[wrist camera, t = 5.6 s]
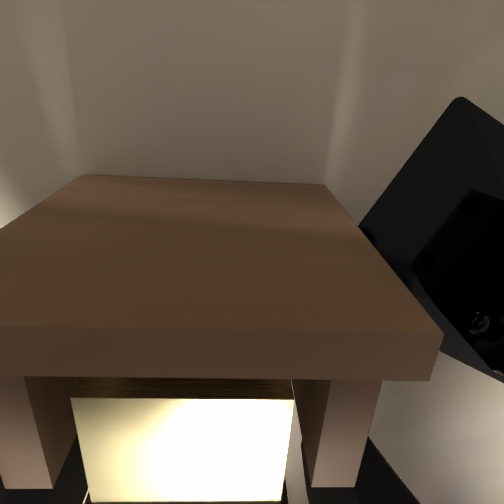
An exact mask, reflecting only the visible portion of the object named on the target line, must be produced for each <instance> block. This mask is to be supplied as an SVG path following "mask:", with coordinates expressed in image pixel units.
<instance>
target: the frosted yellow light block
mask: <svg viewBox="0 0 504 504" xmlns="http://www.w3.org/2000/svg"><path fill="white" fill-rule="evenodd" d="M71 403H72V408H73V413H74V418H75V423H76V428H77V434H78V439H79V444H80V449H81V454H82V459H83V464H84V469H85V474H86V479H87V484H88V489H89V493H88V495H87V498H86V501H85V504H288V498H287V490H286V482H285V474H284V472H285V465H286V458H287V451H288V443H289V436H290V429H291V421H292V414H293V407H294V395H293V389H292V384H291V379H226V378H141V377H81V378H80V380H79V382H78V384H77V386H76V388H75V390H74V392H73V394H72V396H71Z"/></svg>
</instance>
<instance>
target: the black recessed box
mask: <svg viewBox="0 0 504 504" xmlns="http://www.w3.org/2000/svg"><path fill="white" fill-rule="evenodd" d="M358 227H359V229H360V230H361V231H362V232H363V234H364V235H365V236H366V237H367V239H368V240H369V241H370V242H371V244H372V245H373V246H374V247H375V249H376V250H377V251H378V252H379V254H380V255H381V256H382V257H383V259H384V260H385V261H386V262H387V263H388V265H389V266H390V267H391V268H392V270H393V271H394V272H395V273H396V275H397V276H398V277H399V278H400V280H401V281H402V282H403V283H404V285H405V286H406V287H407V288H408V290H409V291H410V292H411V293H412V295H413V296H414V297H415V298H416V300H417V301H418V302H419V303H420V305H421V306H422V307H423V308H424V310H425V311H426V312H427V313H428V315H429V316H430V317H431V318H432V319H433V321H434V322H435V323H436V324H437V326H438V327H439V328H440V329H441V331H442V332H443V333H444V336H443V339H442V342H441V346H440V349H439V351H441V352H443V353H445V354H447V355H449V356H451V357H453V358H455V359H457V360H459V361H461V362H463V363H465V364H467V365H469V366H471V367H473V368H475V369H477V370H479V371H481V372H483V373H485V374H487V375H489V376H491V377H493V378H495V379H497V380H499V381H501V382H503V383H504V125H503V124H501V123H500V122H499V121H497V120H496V119H494V118H493V117H492V116H490V115H489V114H487V113H486V112H484V111H483V110H482V109H480V108H479V107H477V106H476V105H475V104H473V103H472V102H470V101H469V100H468V99H466V98H464V97H457V98H455V99H454V100H453V101H452V102H451V103H450V105H449V106H448V107H447V109H446V110H445V111H444V113H443V114H442V115H441V117H440V118H439V119H438V121H437V122H436V123H435V125H434V126H433V127H432V129H431V130H430V131H429V133H428V134H427V135H426V137H425V138H424V139H423V141H422V142H421V143H420V145H419V146H418V147H417V148H416V150H415V151H414V152H413V154H412V155H411V156H410V158H409V159H408V160H407V162H406V163H405V164H404V166H403V167H402V168H401V170H400V171H399V172H398V174H397V175H396V176H395V178H394V179H393V180H392V182H391V183H390V184H389V186H388V187H387V188H386V190H385V191H384V192H383V194H382V195H381V196H380V198H379V199H378V200H377V201H376V203H375V204H374V205H373V207H372V208H371V209H370V211H369V212H368V213H367V215H366V216H365V217H364V219H363V220H362V221H361V223H360V224H359V225H358Z"/></svg>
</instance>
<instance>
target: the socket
mask: <svg viewBox="0 0 504 504" xmlns="http://www.w3.org/2000/svg"><path fill="white" fill-rule="evenodd" d="M443 336H444V333H443V332H442V331H441V329H440V328H439V327H438V326H437V324H436V323H435V322H434V321H433V319H432V318H431V317H430V316H429V315H428V313H427V312H426V311H425V310H424V308H423V307H422V306H421V305H420V303H419V302H418V301H417V300H416V298H415V297H414V296H413V295H412V293H411V292H410V291H409V290H408V288H407V287H406V286H405V285H404V283H403V282H402V281H401V280H400V278H399V277H398V276H397V275H396V273H395V272H394V271H393V270H392V268H391V267H390V266H389V265H388V263H387V262H386V261H385V260H384V259H383V257H382V256H381V255H380V254H379V252H378V251H377V250H376V249H375V247H374V246H373V245H372V244H371V242H370V241H369V240H368V239H367V237H366V236H365V235H364V234H363V232H362V231H361V230H360V229H359V227H358V226H357V225H356V224H355V222H354V221H353V220H352V219H351V217H350V216H349V215H348V214H347V212H346V211H345V210H344V209H343V208H342V206H341V205H340V204H339V203H338V201H337V200H336V199H335V198H334V196H333V195H332V194H331V193H330V191H329V190H328V189H327V188H326V186H325V185H314V184H290V183H267V182H243V181H220V180H196V179H173V178H149V177H126V176H103V175H81V176H80V177H78V178H77V179H75V180H74V181H72V182H71V183H69V184H68V185H66V186H65V187H63V188H62V189H60V190H59V191H57V192H56V193H54V194H53V195H51V196H50V197H48V198H47V199H45V200H43V201H42V202H40V203H39V204H37V205H36V206H34V207H33V208H31V209H30V210H28V211H27V212H25V213H24V214H22V215H21V216H19V217H18V218H16V219H15V220H13V221H12V222H10V223H9V224H7V225H6V226H4V227H3V228H1V229H0V475H1V478H2V481H3V484H4V486H5V489H53V487H54V485H55V482H56V480H57V478H58V476H59V473H60V471H61V469H62V467H63V464H64V462H65V460H66V457H67V455H68V453H69V451H70V448H71V446H72V444H73V441H74V439H75V437H76V435H77V428H76V423H75V418H74V413H73V408H72V403H71V396H72V394H73V392H74V390H75V388H76V386H77V384H78V382H79V380H80V378H81V377H141V378H226V379H291V380H292V385H293V391H294V396H295V402H296V407H297V412H298V418H299V423H300V429H301V434H302V440H303V445H304V450H305V456H306V461H307V467H308V472H309V478H310V483H311V487H355V483H356V479H357V475H358V472H359V468H360V464H361V460H362V456H363V452H364V449H365V445H366V441H367V437H368V433H369V429H370V426H371V422H372V418H373V414H374V410H375V406H376V403H377V399H378V395H379V391H380V387H381V383H382V380H397V381H429V379H430V376H431V373H432V370H433V367H434V364H435V361H436V358H437V355H438V352H439V349H440V346H441V342H442V339H443Z"/></svg>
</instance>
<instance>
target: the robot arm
mask: <svg viewBox="0 0 504 504" xmlns="http://www.w3.org/2000/svg"><path fill="white" fill-rule="evenodd" d="M301 450H302V459H303V468H304V476H305V484H306V491H307V496H308V500H309V504H420V502H419V501H418V500H417V499H416V498H415V496H414V495H413V494H412V493H411V492H410V490H409V489H408V488H407V487H406V485H405V484H404V483H403V482H402V480H401V479H400V478H399V477H398V475H397V474H396V473H395V471H394V470H393V469H392V467H391V466H390V465H389V464H388V462H387V461H386V460H385V458H384V457H383V456H382V454H381V453H380V452H379V450H378V449H377V448H376V446H375V445H374V444H373V442H372V441H371V440H370V438H369V437H367V441H366V445H365V449H364V452H363V456H362V460H361V464H360V468H359V472H358V475H357V479H356V483H355V487H311V483H310V478H309V472H308V467H307V461H306V456H305V450H304V445H303V440H302V442H301ZM87 490H88V484H87V479H86V474H85V469H84V464H83V459H82V454H81V449H80V444H79V439H78V434H77V435H76V437H75V439H74V441H73V444H72V446H71V448H70V451H69V453H68V455H67V457H66V460H65V462H64V464H63V467H62V469H61V471H60V473H59V476H58V478H57V480H56V482H55V485H54V487H53V489H5V486H4V484H3V481H2V478H1V475H0V504H82V503H83V501H84V498H85V495H86V493H87Z"/></svg>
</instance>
